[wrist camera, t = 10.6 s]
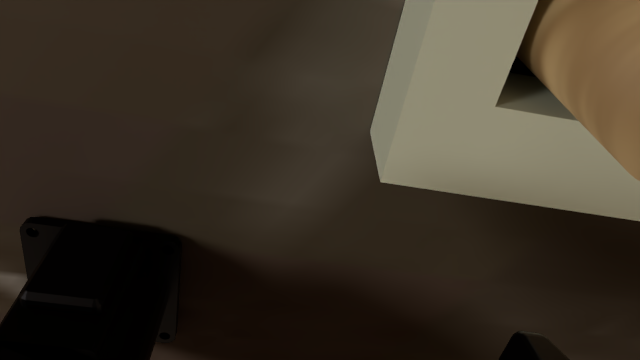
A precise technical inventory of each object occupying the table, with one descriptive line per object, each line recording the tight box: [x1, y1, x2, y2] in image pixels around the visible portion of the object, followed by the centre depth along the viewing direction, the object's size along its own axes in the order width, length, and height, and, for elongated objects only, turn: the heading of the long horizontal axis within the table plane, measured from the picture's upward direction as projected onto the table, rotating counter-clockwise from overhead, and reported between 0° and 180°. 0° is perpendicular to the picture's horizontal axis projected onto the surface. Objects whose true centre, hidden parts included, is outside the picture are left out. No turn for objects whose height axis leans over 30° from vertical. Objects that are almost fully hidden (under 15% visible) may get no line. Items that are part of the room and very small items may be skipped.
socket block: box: [370, 0, 640, 221], centre depth 16 cm, size 11×10×4 cm
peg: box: [516, 0, 640, 181], centre depth 14 cm, size 4×4×8 cm
